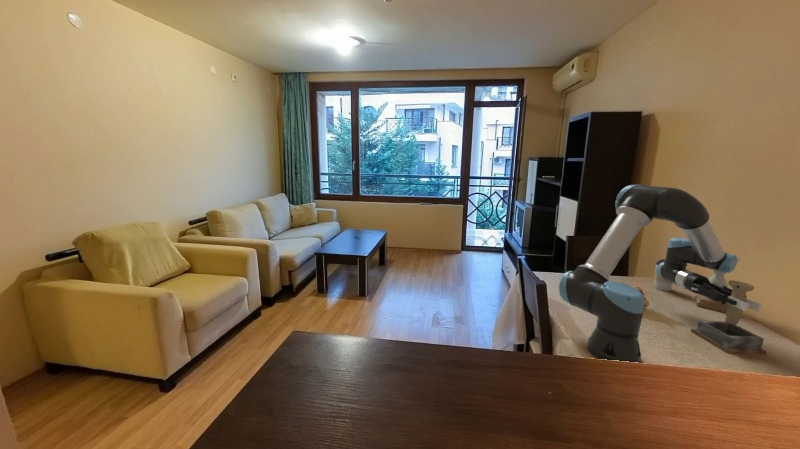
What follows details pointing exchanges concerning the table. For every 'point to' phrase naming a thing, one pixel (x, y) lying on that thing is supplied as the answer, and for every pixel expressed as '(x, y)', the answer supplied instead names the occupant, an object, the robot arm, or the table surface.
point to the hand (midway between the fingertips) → (753, 307)
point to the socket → (729, 337)
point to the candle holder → (709, 303)
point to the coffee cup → (661, 280)
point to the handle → (738, 293)
